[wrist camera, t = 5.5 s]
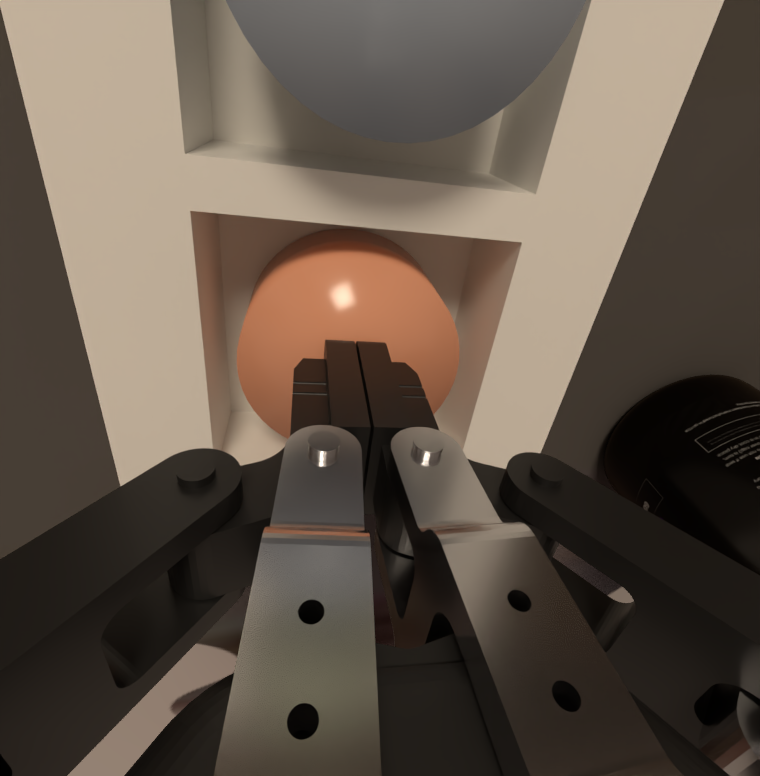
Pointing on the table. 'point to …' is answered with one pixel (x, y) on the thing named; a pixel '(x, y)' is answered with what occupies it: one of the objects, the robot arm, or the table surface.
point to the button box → (332, 207)
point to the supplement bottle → (695, 462)
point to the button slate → (405, 58)
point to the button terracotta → (341, 317)
